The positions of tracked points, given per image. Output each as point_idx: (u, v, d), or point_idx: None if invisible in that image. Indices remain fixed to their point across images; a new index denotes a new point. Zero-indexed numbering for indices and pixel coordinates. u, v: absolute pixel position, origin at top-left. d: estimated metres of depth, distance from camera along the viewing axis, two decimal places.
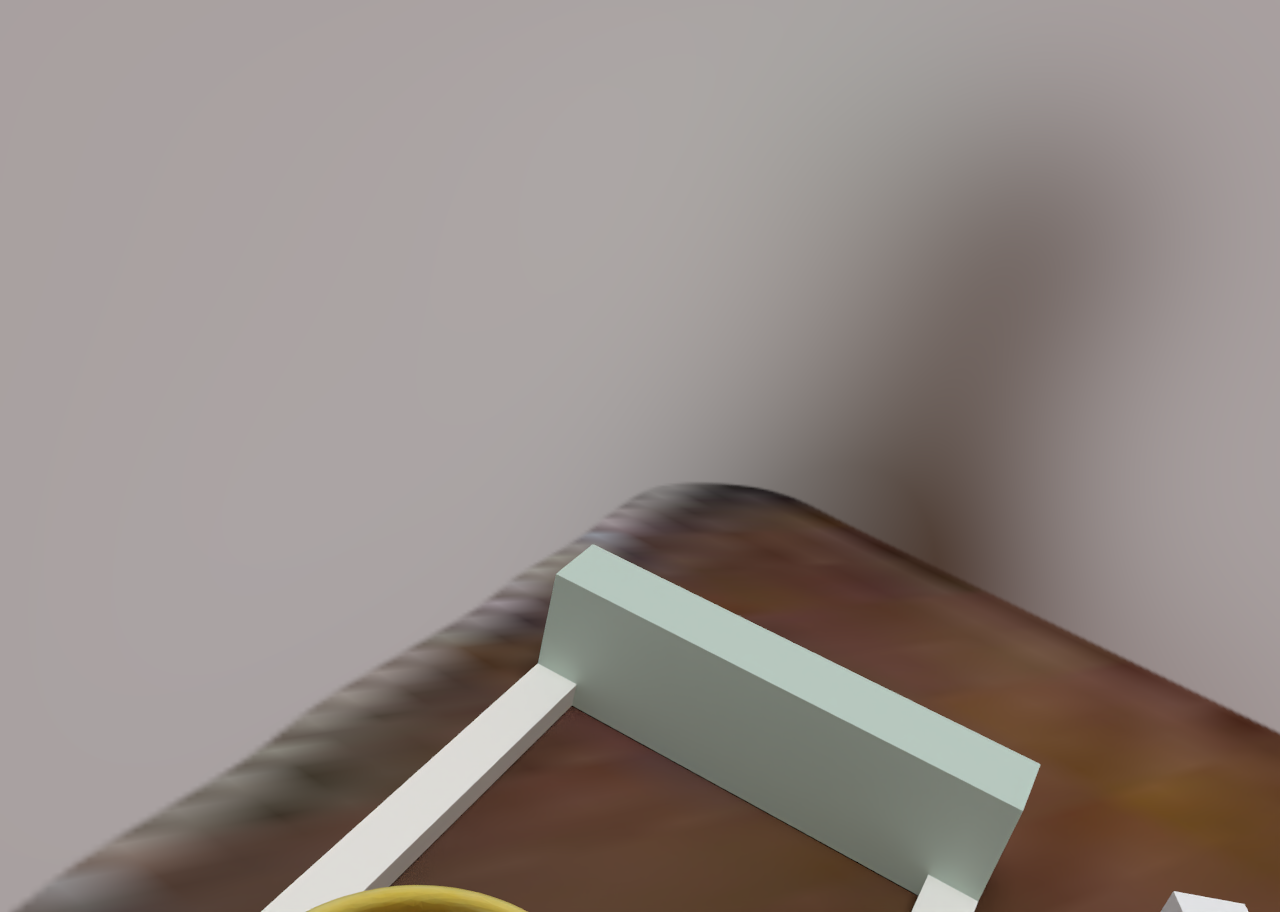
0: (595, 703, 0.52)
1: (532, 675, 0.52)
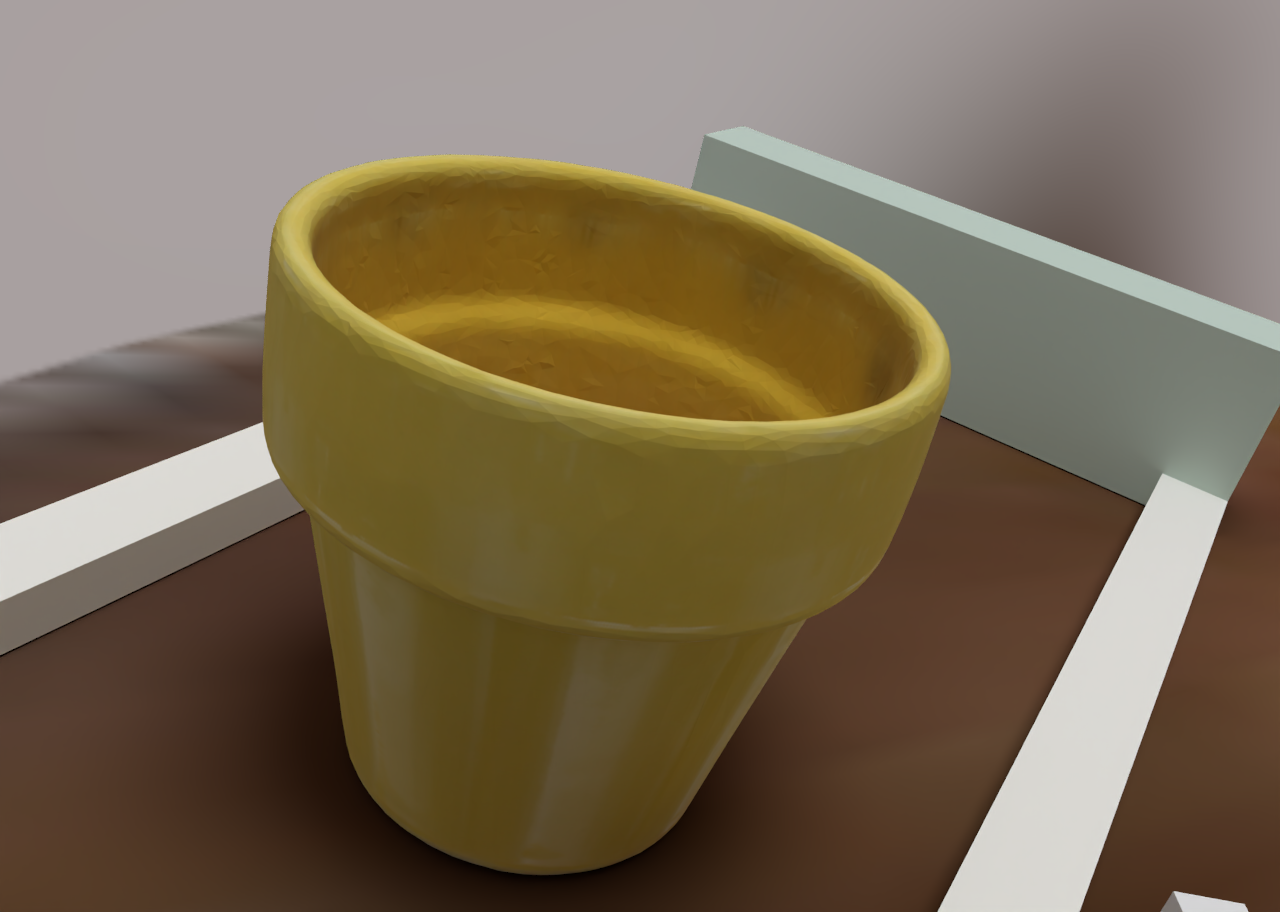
0: None
1: None
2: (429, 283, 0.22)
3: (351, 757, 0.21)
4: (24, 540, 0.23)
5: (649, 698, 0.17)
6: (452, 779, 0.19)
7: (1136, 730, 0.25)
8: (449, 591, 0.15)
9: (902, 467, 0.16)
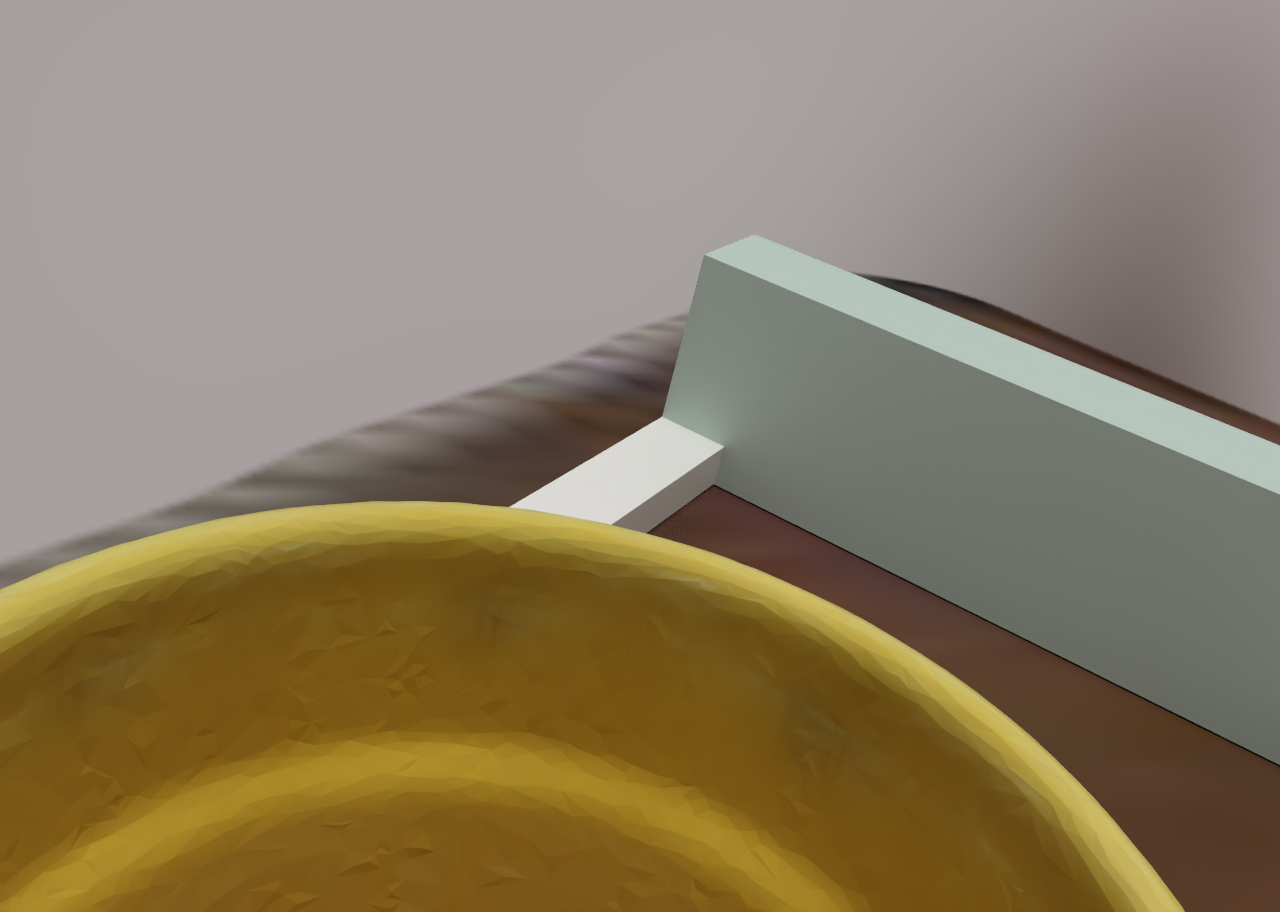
0: (753, 477, 0.33)
1: (654, 429, 0.33)
2: (171, 761, 0.11)
3: None
4: None
5: None
6: None
7: None
8: None
9: None
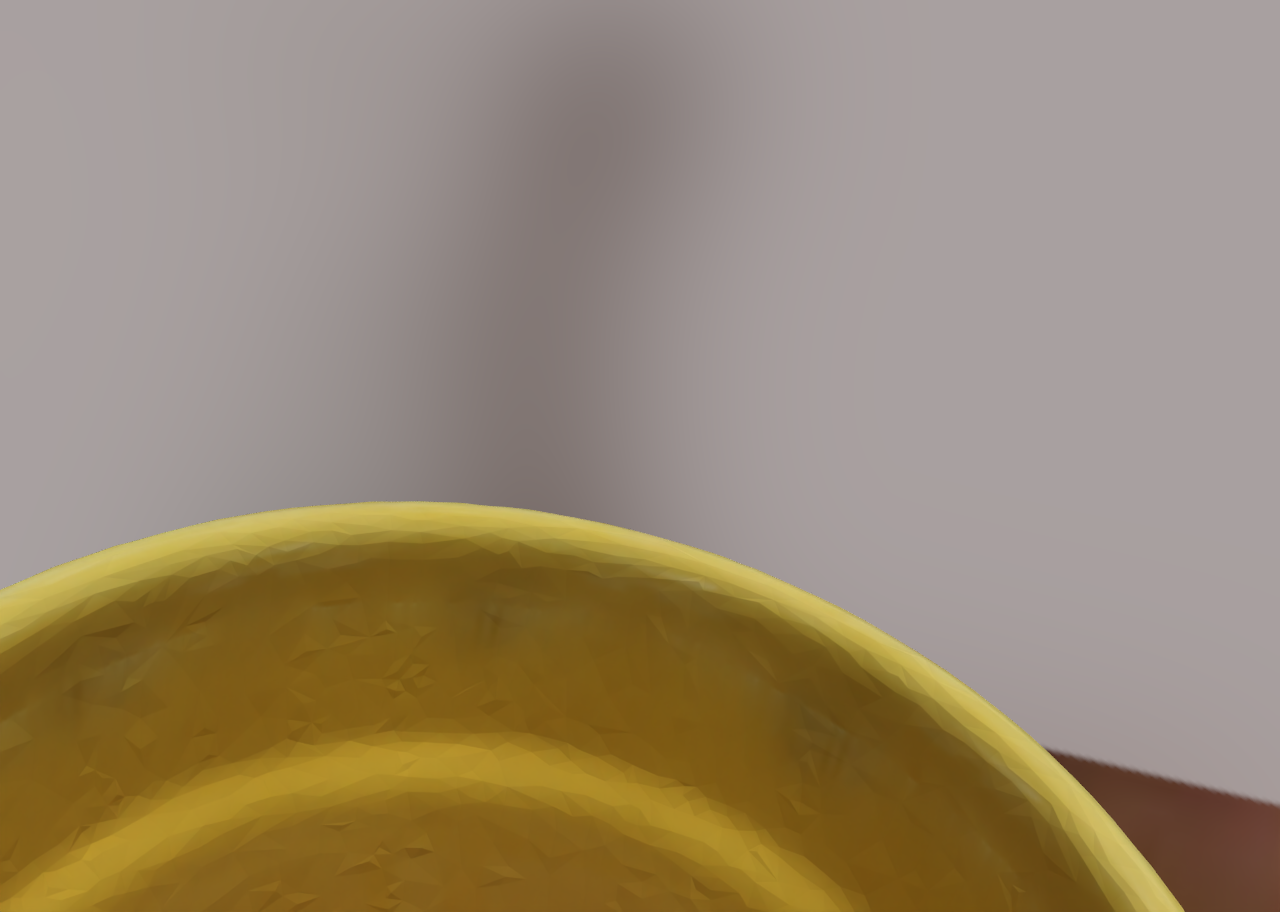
0: None
1: None
2: (171, 761, 0.11)
3: None
4: None
5: None
6: None
7: None
8: None
9: None
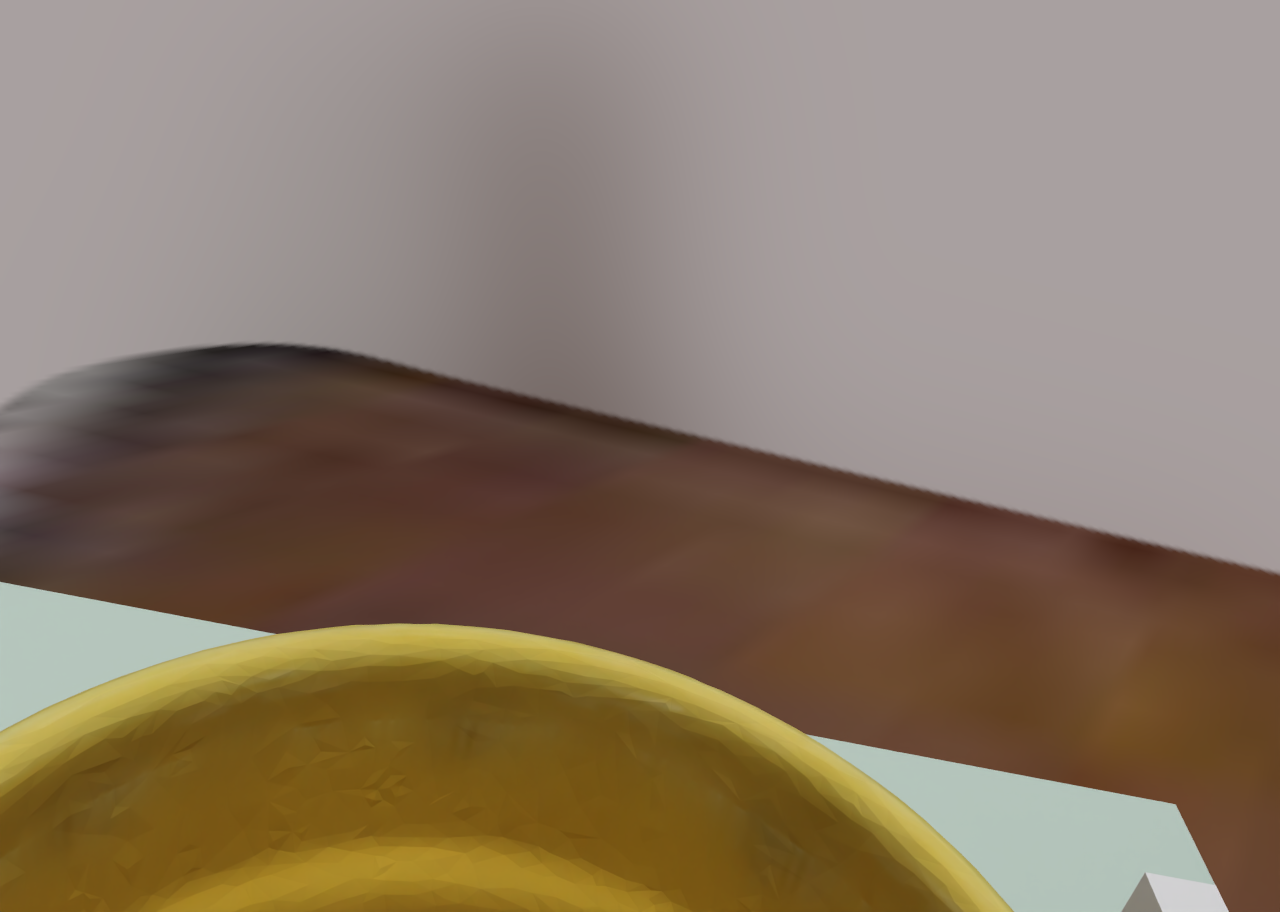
0: None
1: None
2: (156, 877, 0.12)
3: None
4: None
5: None
6: None
7: None
8: None
9: None
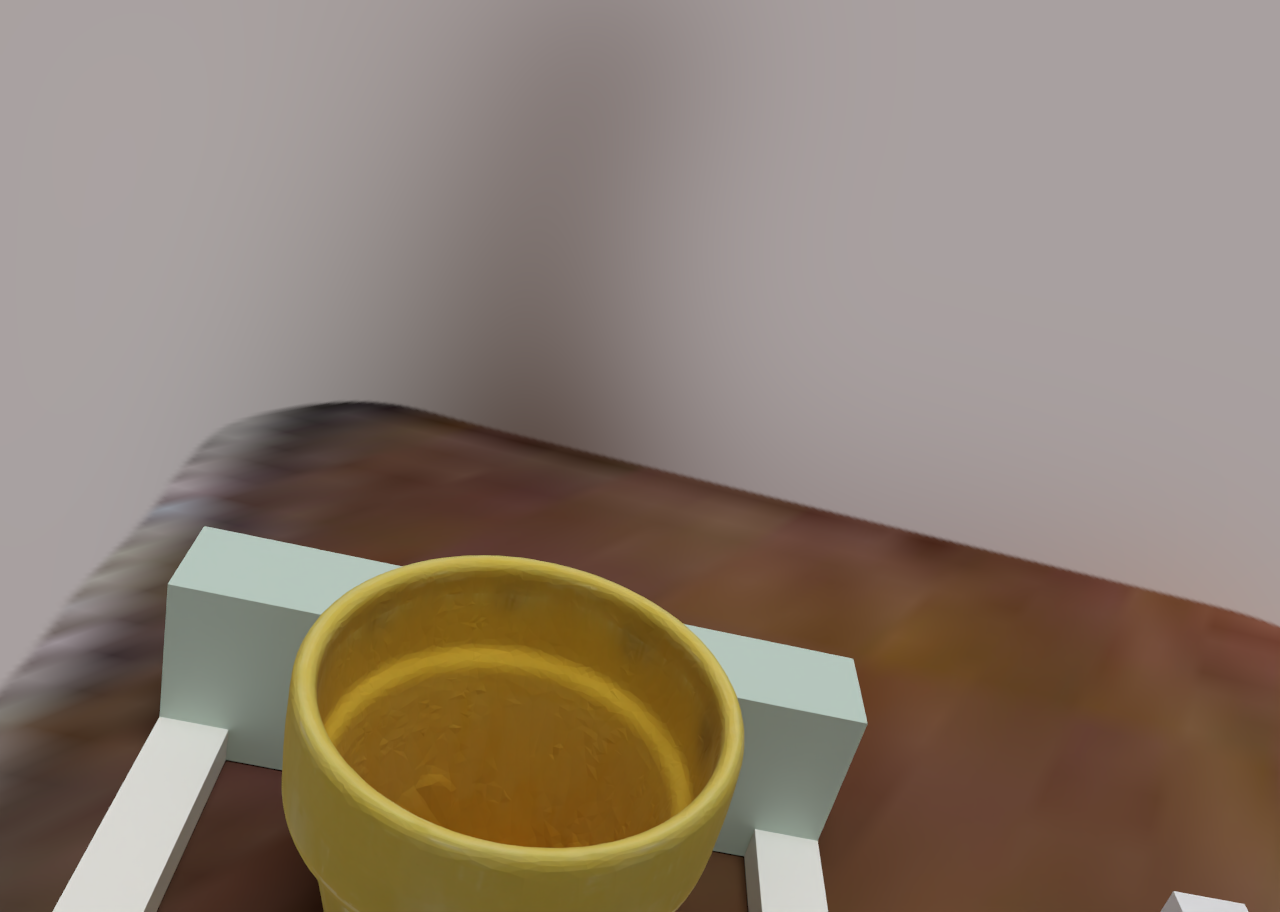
0: (263, 747, 0.36)
1: (157, 737, 0.35)
2: (395, 650, 0.31)
3: None
4: None
5: None
6: None
7: None
8: None
9: (699, 845, 0.25)
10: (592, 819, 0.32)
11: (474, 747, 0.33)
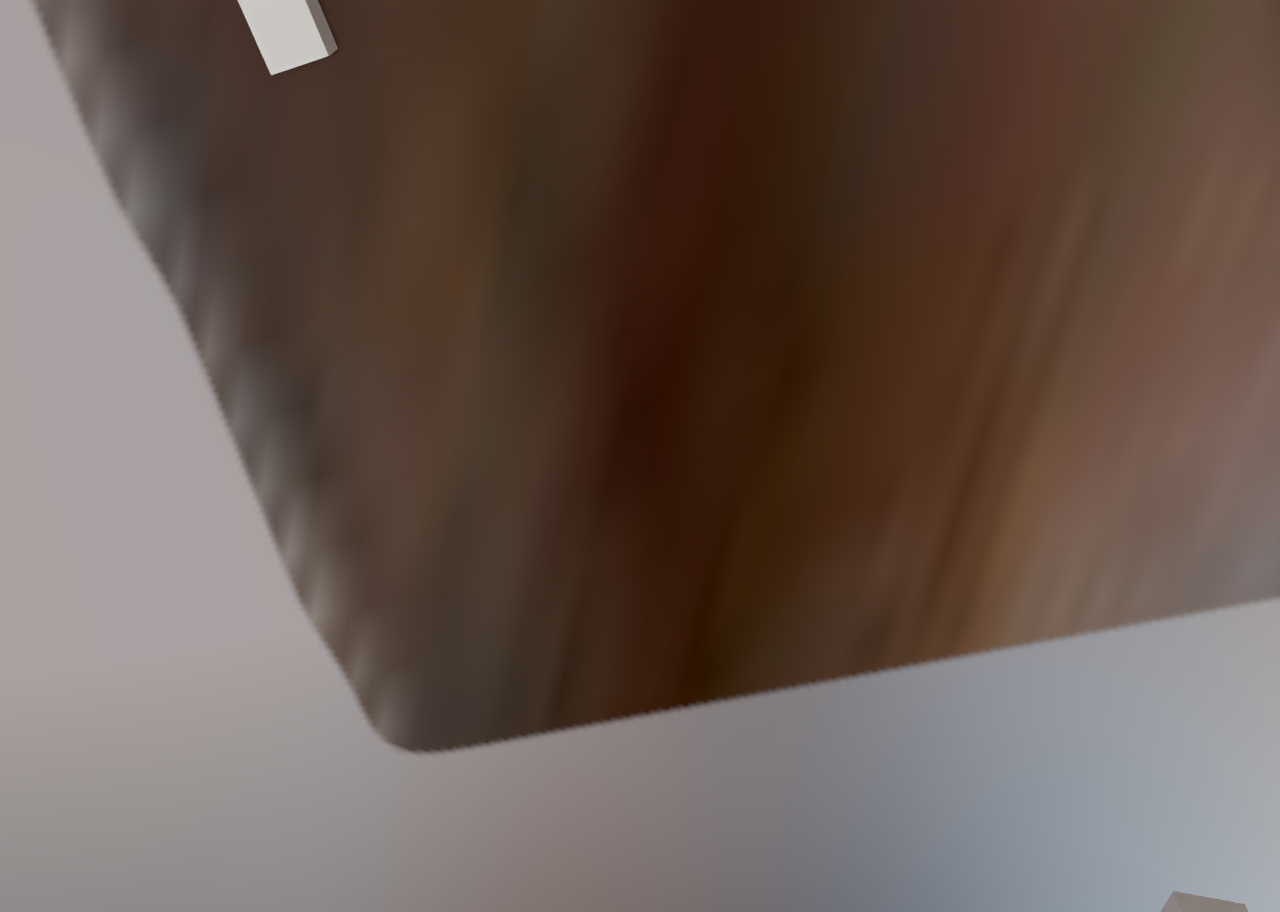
0: None
1: None
2: None
3: None
4: None
5: None
6: None
7: None
8: None
9: None
10: None
11: None
